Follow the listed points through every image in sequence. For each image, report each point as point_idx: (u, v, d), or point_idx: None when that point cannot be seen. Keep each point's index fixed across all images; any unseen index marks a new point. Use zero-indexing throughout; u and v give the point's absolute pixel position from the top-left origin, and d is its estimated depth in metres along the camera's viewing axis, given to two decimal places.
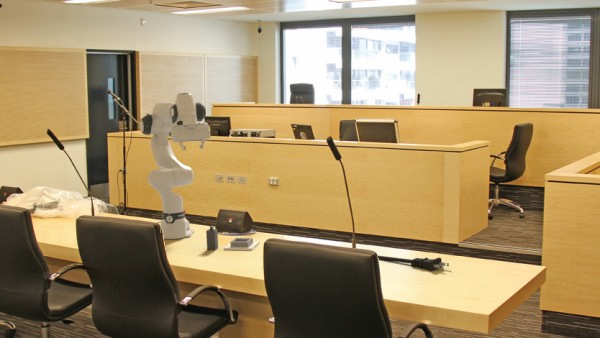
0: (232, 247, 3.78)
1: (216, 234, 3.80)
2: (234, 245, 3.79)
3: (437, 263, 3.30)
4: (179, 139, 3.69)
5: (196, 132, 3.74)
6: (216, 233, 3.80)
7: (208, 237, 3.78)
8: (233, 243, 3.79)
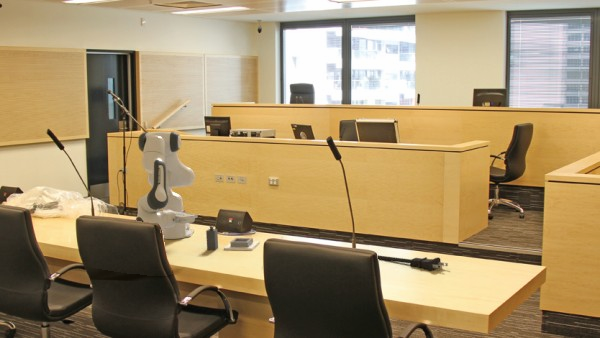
0: (232, 247, 3.78)
1: (216, 234, 3.80)
2: (234, 245, 3.79)
3: (436, 263, 3.30)
4: None
5: None
6: (216, 233, 3.80)
7: (208, 237, 3.78)
8: (233, 243, 3.79)
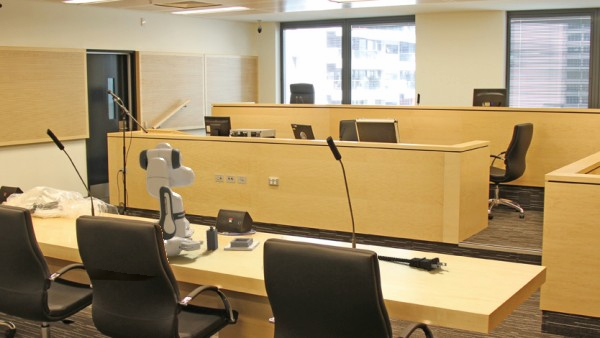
0: (232, 247, 3.78)
1: (216, 234, 3.80)
2: (234, 245, 3.79)
3: (435, 263, 3.30)
4: None
5: None
6: (216, 233, 3.80)
7: (208, 237, 3.78)
8: (233, 243, 3.79)
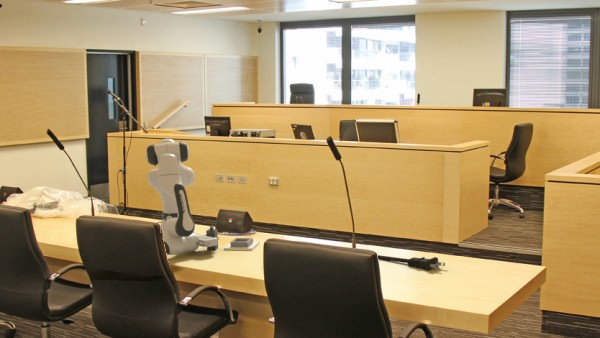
0: (232, 247, 3.78)
1: (216, 234, 3.80)
2: (234, 245, 3.79)
3: (433, 263, 3.30)
4: None
5: None
6: (216, 233, 3.80)
7: None
8: (233, 243, 3.79)
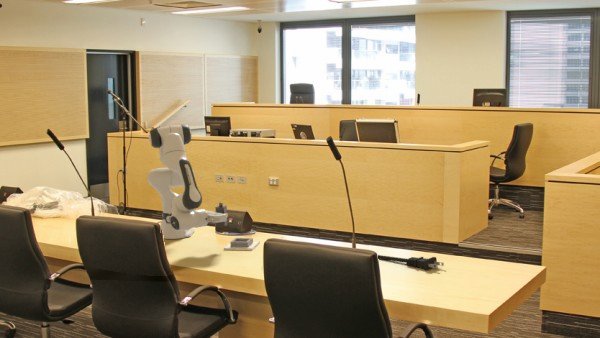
0: (232, 247, 3.78)
1: (225, 211, 3.79)
2: (234, 245, 3.79)
3: (432, 262, 3.31)
4: None
5: None
6: (225, 210, 3.79)
7: None
8: (233, 243, 3.79)
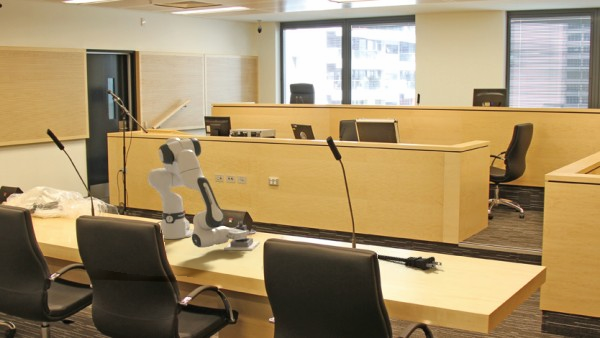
0: (232, 247, 3.78)
1: None
2: (234, 245, 3.79)
3: (430, 262, 3.31)
4: None
5: None
6: (245, 229, 3.82)
7: None
8: (233, 243, 3.79)
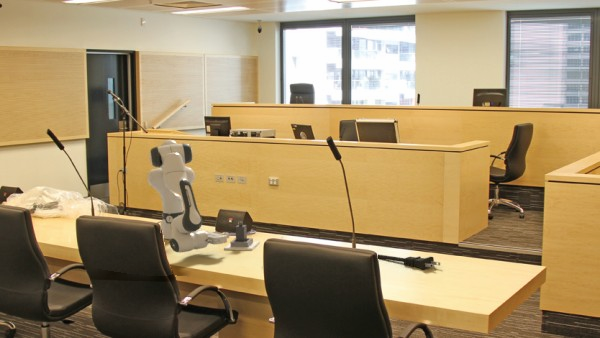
0: (232, 247, 3.78)
1: (245, 230, 3.82)
2: (234, 245, 3.79)
3: (429, 262, 3.32)
4: None
5: None
6: (245, 229, 3.82)
7: (237, 233, 3.81)
8: (233, 243, 3.79)
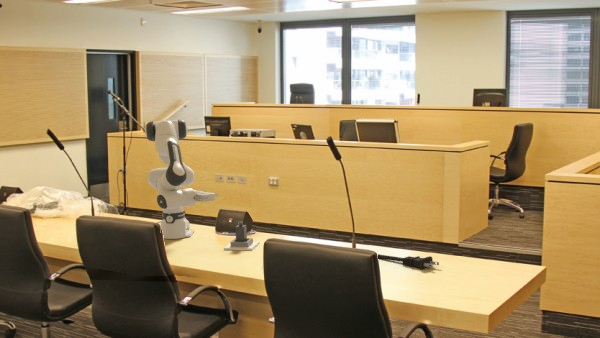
0: (232, 247, 3.78)
1: (245, 230, 3.82)
2: (234, 245, 3.79)
3: (427, 262, 3.32)
4: None
5: None
6: (245, 229, 3.82)
7: (237, 233, 3.81)
8: (233, 243, 3.79)
